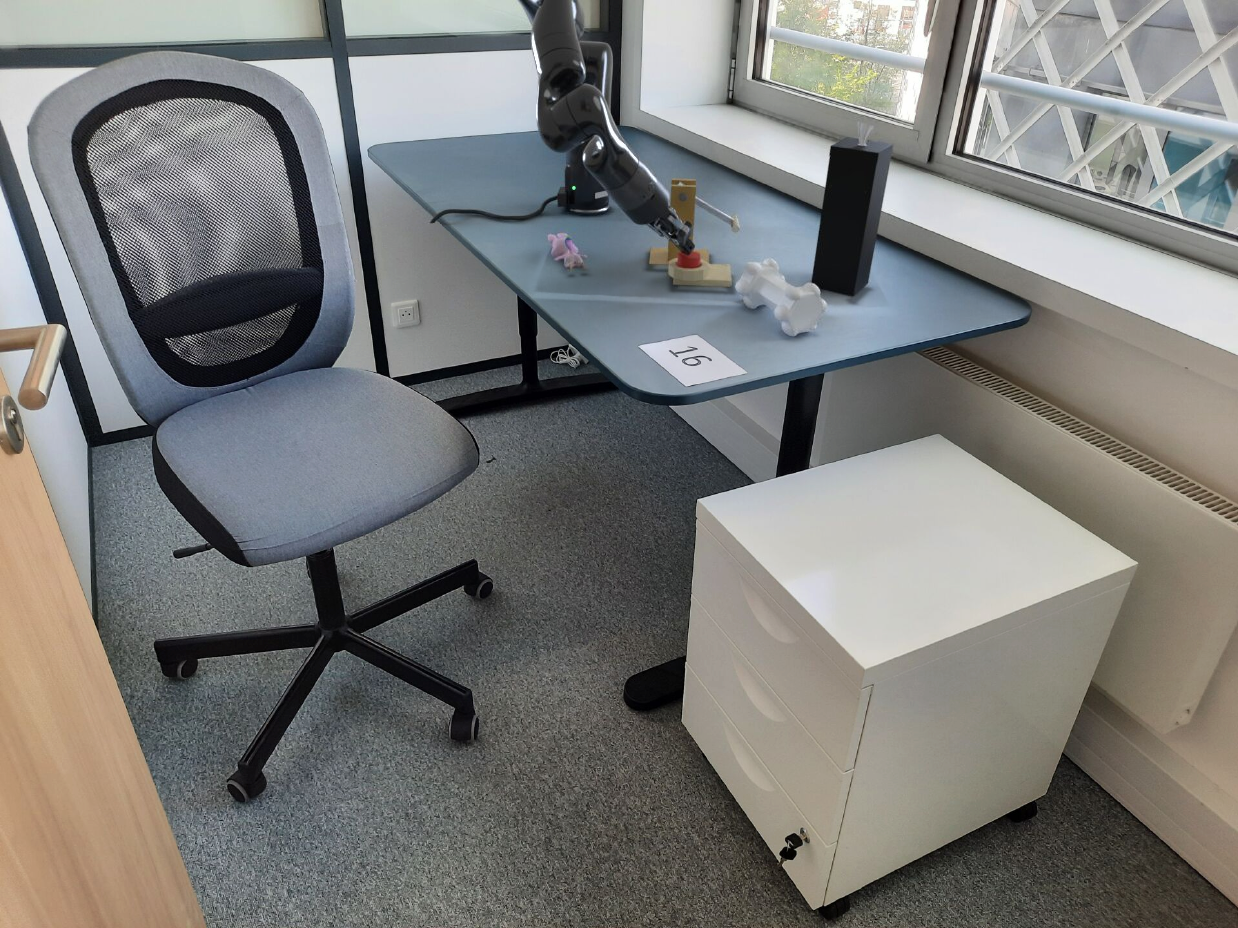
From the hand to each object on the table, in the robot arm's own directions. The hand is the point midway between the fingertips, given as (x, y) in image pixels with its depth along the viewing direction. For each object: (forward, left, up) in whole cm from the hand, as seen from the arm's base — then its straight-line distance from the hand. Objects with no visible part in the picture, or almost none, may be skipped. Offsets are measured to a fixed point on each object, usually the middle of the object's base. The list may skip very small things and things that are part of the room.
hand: (689, 250), depth 151 cm
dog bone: (+15, -13, -7) cm, 21 cm away
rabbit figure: (-23, +9, -7) cm, 25 cm away
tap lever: (+3, +12, +3) cm, 12 cm away
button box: (+3, +2, -6) cm, 7 cm away
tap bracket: (-1, +12, -6) cm, 13 cm away
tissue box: (+27, +1, -7) cm, 27 cm away
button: (0, 0, -3) cm, 3 cm away
